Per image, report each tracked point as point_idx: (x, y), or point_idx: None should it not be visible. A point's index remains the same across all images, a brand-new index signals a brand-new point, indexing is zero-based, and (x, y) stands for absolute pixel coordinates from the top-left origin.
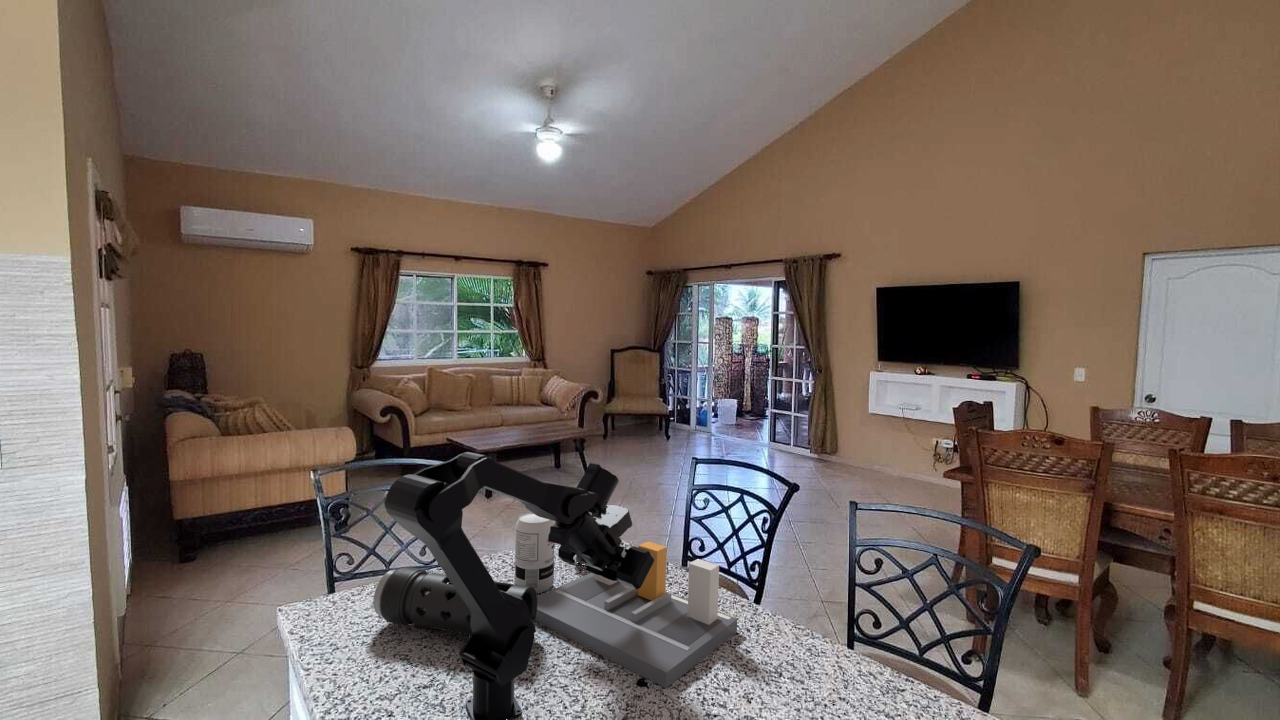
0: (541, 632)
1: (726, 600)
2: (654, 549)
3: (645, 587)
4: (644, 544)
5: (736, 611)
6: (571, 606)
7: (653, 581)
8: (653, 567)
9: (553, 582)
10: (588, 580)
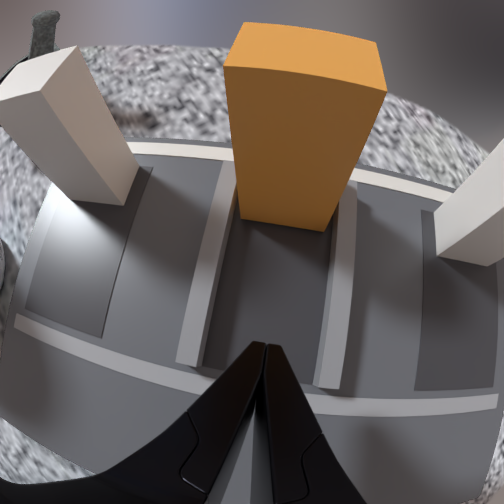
0: (88, 472)
1: (396, 109)
2: (352, 75)
3: (278, 206)
4: (249, 47)
5: (436, 141)
6: (86, 394)
7: (324, 193)
8: (336, 155)
9: (2, 248)
10: (60, 215)
